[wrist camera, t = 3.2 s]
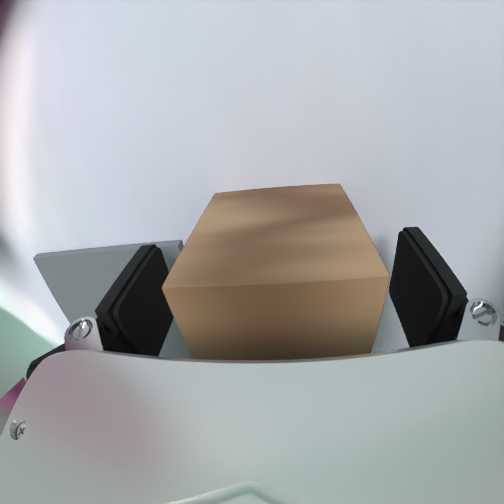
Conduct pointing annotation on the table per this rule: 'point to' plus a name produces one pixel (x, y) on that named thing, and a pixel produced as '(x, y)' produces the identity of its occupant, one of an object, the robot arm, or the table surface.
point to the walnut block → (278, 277)
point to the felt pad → (101, 282)
